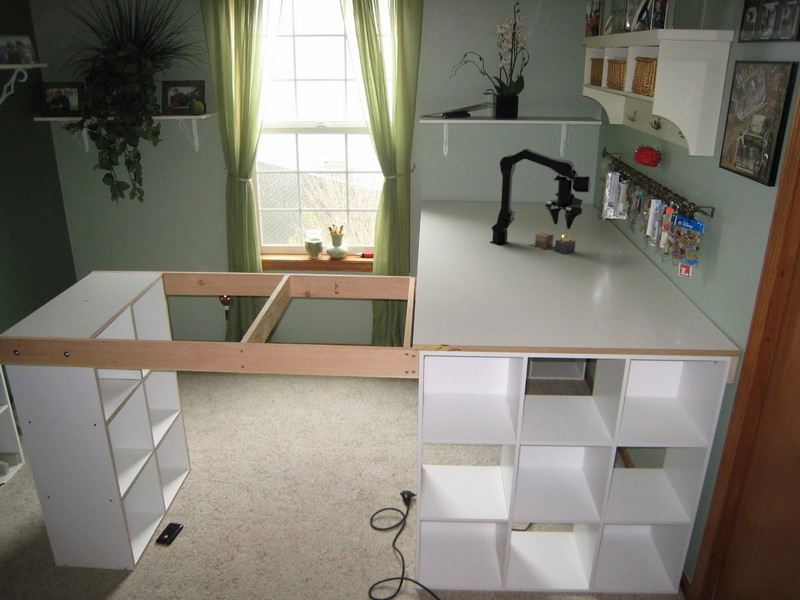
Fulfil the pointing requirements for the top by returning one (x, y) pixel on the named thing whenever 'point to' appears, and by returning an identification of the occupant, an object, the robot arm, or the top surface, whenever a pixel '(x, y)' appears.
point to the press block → (565, 246)
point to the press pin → (565, 237)
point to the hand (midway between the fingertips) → (562, 226)
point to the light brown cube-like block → (544, 239)
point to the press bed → (543, 247)
